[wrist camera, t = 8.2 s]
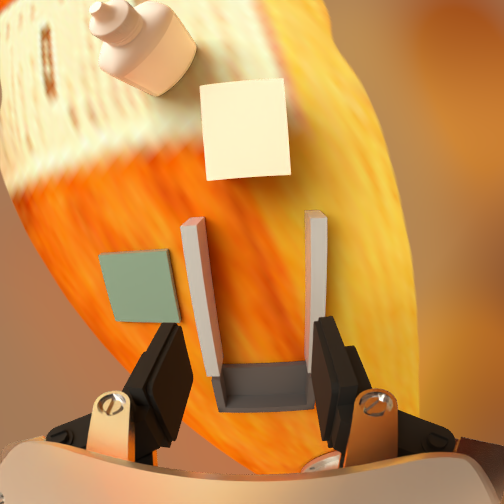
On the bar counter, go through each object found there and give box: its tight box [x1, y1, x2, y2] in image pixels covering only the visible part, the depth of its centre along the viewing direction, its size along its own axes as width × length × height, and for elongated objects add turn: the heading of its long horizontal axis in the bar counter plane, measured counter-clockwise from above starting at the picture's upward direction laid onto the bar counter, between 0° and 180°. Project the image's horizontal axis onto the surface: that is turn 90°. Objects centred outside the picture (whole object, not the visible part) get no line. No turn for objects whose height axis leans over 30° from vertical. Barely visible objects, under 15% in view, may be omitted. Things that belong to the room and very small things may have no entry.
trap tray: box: [212, 361, 315, 413], centre depth 27 cm, size 5×10×2 cm, turn 94°
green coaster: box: [98, 249, 181, 323], centre depth 25 cm, size 7×7×1 cm
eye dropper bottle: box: [89, 0, 197, 96], centre depth 13 cm, size 4×6×12 cm
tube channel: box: [180, 210, 327, 376], centre depth 24 cm, size 14×10×3 cm
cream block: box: [200, 78, 291, 181], centre depth 18 cm, size 6×5×6 cm
